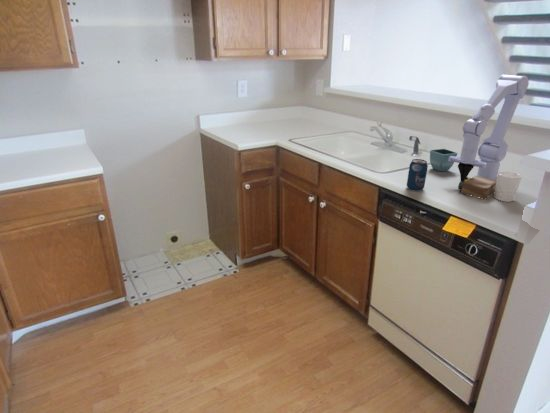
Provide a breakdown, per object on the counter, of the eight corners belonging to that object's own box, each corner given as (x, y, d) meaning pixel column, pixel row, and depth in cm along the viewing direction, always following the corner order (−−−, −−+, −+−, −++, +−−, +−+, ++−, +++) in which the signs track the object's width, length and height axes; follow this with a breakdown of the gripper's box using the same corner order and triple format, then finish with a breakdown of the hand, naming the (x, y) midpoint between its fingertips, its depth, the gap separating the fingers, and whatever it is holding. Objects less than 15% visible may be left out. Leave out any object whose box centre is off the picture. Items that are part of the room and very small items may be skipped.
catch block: (473, 185, 162) (475, 175, 161) (496, 191, 156) (498, 180, 155) (461, 193, 154) (463, 182, 152) (484, 199, 148) (487, 188, 146)
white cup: (507, 194, 153) (513, 171, 149) (519, 202, 146) (526, 177, 142) (488, 195, 153) (493, 171, 149) (499, 202, 145) (505, 177, 141)
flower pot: (440, 166, 188) (444, 148, 184) (454, 171, 180) (458, 152, 177) (426, 168, 185) (429, 149, 181) (439, 173, 177) (443, 154, 174)
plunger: (461, 187, 159) (462, 179, 157) (486, 194, 152) (488, 185, 151) (457, 190, 156) (459, 181, 155) (482, 196, 150) (484, 187, 149)
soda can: (417, 193, 154) (421, 164, 150) (402, 188, 160) (406, 160, 155) (427, 189, 158) (432, 161, 153) (412, 184, 163) (417, 157, 159)
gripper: (447, 147, 158) (441, 178, 164) (484, 154, 149) (477, 187, 154) (454, 144, 163) (449, 175, 168) (491, 151, 153) (483, 183, 159)
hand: (462, 180), depth 162 cm, fingers closed
